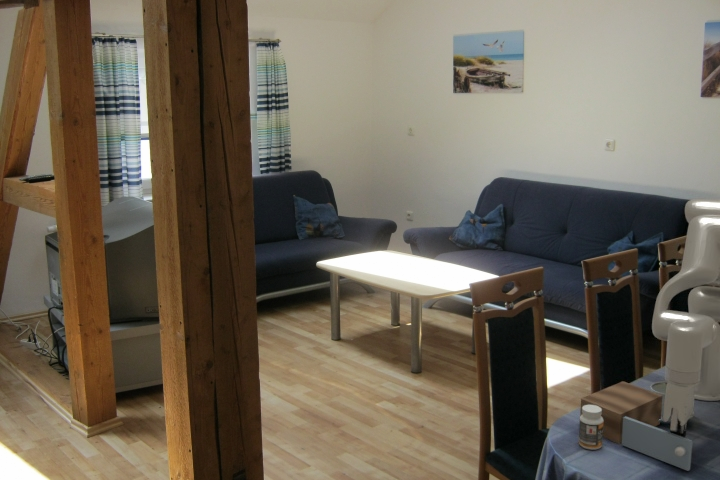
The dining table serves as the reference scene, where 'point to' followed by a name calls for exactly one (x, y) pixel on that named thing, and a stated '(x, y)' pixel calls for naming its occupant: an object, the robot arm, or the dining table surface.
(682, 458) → the door
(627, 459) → the dining table surface
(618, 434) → the cabinet
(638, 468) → the dining table surface
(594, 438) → the pill bottle
